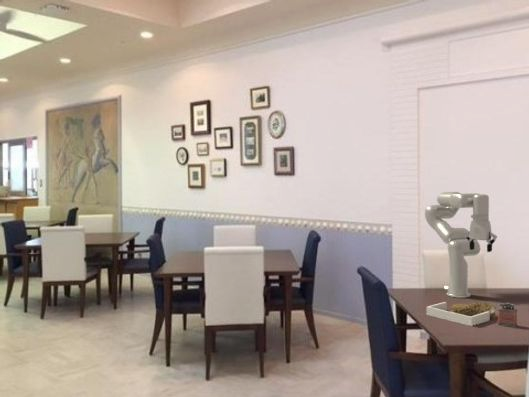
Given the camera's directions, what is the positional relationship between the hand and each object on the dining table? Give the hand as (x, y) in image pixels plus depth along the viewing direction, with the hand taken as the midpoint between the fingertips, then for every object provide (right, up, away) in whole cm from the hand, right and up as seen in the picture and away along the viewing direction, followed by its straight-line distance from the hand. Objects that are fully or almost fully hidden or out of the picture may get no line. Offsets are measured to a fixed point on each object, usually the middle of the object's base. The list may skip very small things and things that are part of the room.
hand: (480, 250), depth 267 cm
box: (-21, -30, -23) cm, 43 cm away
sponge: (-13, -30, -22) cm, 39 cm away
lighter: (-3, -30, -36) cm, 47 cm away
